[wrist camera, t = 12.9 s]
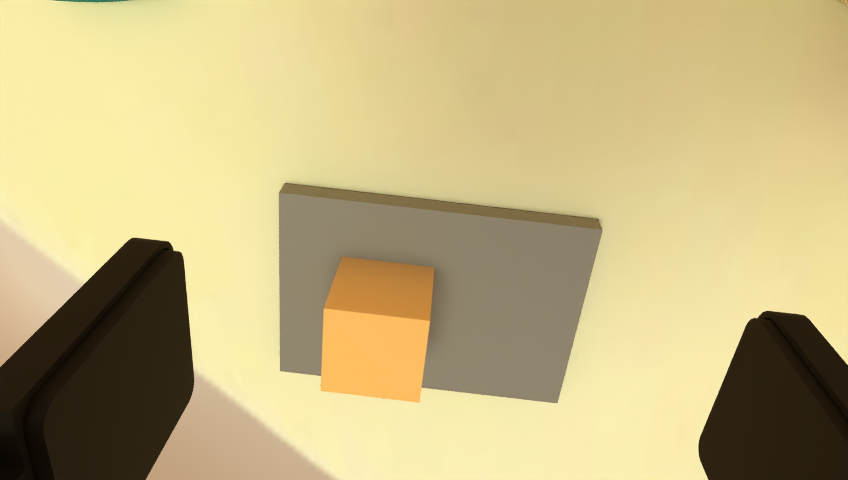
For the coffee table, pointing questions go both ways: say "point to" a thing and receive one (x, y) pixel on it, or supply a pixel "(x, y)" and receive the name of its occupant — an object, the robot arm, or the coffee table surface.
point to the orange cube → (376, 329)
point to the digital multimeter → (92, 0)
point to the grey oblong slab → (445, 283)
